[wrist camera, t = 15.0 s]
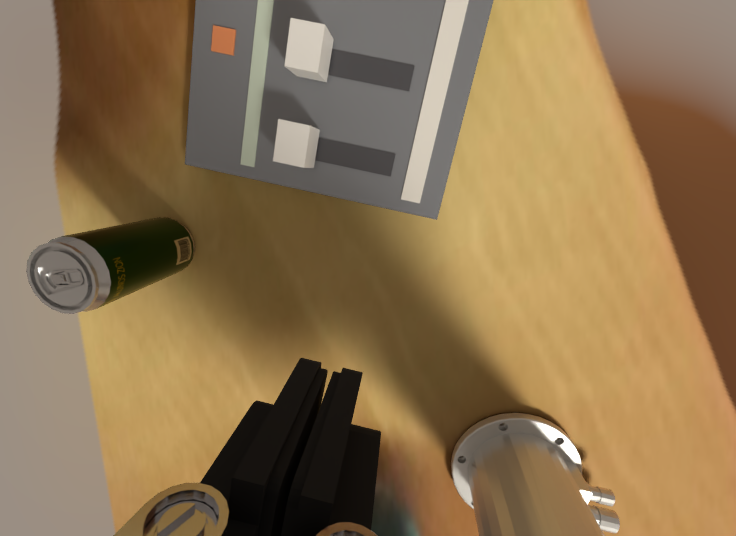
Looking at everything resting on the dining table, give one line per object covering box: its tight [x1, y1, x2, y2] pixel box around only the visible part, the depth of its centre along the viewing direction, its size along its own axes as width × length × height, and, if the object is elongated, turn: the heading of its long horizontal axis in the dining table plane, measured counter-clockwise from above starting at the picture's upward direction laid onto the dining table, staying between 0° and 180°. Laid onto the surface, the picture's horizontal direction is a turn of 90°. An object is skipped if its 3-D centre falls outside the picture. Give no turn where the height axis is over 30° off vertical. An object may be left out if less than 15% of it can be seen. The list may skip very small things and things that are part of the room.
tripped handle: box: [284, 18, 334, 82], centre depth 27 cm, size 2×3×3 cm
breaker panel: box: [185, 0, 493, 220], centre depth 28 cm, size 22×20×5 cm
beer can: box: [26, 217, 195, 314], centre depth 30 cm, size 5×5×12 cm
